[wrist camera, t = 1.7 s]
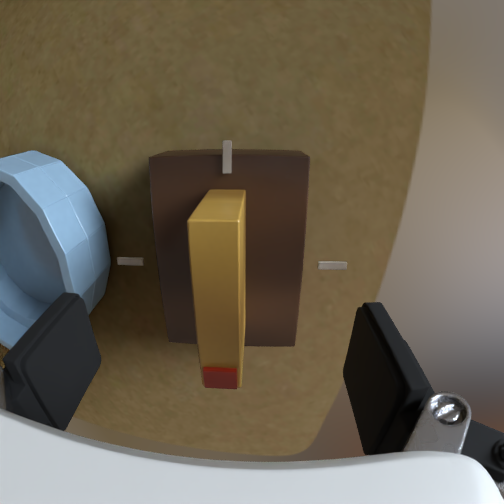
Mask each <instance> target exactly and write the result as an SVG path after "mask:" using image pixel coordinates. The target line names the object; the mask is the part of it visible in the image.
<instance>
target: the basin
mask: <svg viewBox="0 0 504 504" xmlns="http://www.w3.org/2000/svg"><path fill="white" fill-rule="evenodd" d="M110 265H111V259H110V253H109V247H108V241H107V234H106V227H105V223H104V221H103V219H102V217H101V215H100V212H99V210H98V208H97V206H96V204H95V202H94V200H93V198H92V196H91V194H90V192H89V189H88V188H87V187H86V185H85V184H84V183H83V182H82V181H81V180H80V179H79V178H78V177H77V176H76V175H75V174H74V173H73V172H72V171H71V170H70V169H69V168H68V167H67V166H66V165H65V164H64V163H63V162H62V161H61V160H58V159H56V158H53V157H50V156H48V155H45V154H42V153H40V152H37V151H33V150H32V151H27V152H23V153H18V154H14V155H9V156H5V157H2V158H0V343H1V344H2V345H4V346H5V347H7V348H8V349H11V348H12V347H13V346H14V345H15V344H16V342H17V341H18V340H19V339H20V338H21V337H22V336H23V335H24V333H25V332H26V331H27V330H28V329H29V328H30V327H31V326H32V325H33V324H34V322H35V321H36V320H37V319H38V318H39V317H40V316H41V315H42V314H43V313H44V312H45V311H46V310H47V309H48V308H49V307H50V305H51V304H52V303H53V302H54V301H55V300H56V299H57V298H58V297H59V296H60V295H61V294H62V293H64V292H68V293H77V294H79V295H80V297H81V298H83V299H84V302H85V305H86V309H87V313H88V315H89V314H90V313H91V311H92V310H93V309H94V307H95V306H96V305H97V303H98V302H99V301H100V300H101V298H102V297H103V296H104V294H105V290H106V285H107V280H108V275H109V270H110Z"/></svg>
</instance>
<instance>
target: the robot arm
mask: <svg viewBox="0 0 504 504" xmlns="http://www.w3.org/2000/svg"><path fill="white" fill-rule="evenodd" d="M2 360H3V362H4V364H5V366H6V367H5V368H4V369H3V368H2V367H1V366H0V504H504V433H502V432H500V431H497V430H495V429H493V428H490V427H488V426H485V425H483V424H481V423H478V422H476V421H473V420H471V409H470V406H469V405H468V403H467V401H466V400H464V399H463V398H462V397H461V396H459V395H457V394H455V393H452V392H438V393H434V391H433V389H432V387H431V385H430V383H429V381H428V380H427V378H426V376H425V374H424V372H423V370H422V369H421V367H420V365H419V363H418V361H417V360H416V358H415V356H414V354H413V353H412V351H411V349H410V347H409V346H408V344H407V342H406V341H405V340H403V338H402V336H401V335H400V333H399V331H398V330H397V328H396V326H395V325H394V323H393V321H392V319H391V318H390V316H389V315H388V313H387V311H386V310H385V308H384V307H383V305H382V303H380V302H373V303H364V304H363V305H362V307H358V309H357V311H356V316H355V321H354V326H353V330H352V335H351V339H350V343H349V348H348V352H347V356H346V360H345V364H344V368H343V377H344V381H345V384H346V388H347V391H348V395H349V398H350V402H351V406H352V409H353V413H354V417H355V420H356V424H357V428H358V432H359V435H360V440H361V443H362V447H363V451H364V453H365V455H368V456H361V457H351V458H341V459H329V460H313V461H292V462H247V461H246V462H245V461H244V462H243V461H225V460H211V459H201V458H191V457H182V456H174V455H167V454H161V453H155V452H149V451H143V450H138V449H132V448H128V447H123V446H118V445H113V444H109V443H105V442H101V441H97V440H93V439H89V438H86V437H82V436H79V435H75V434H71V433H68V432H65V431H64V430H65V429H66V428H67V426H68V424H69V422H70V420H71V418H72V416H73V414H74V413H75V411H76V409H77V407H78V405H79V403H80V401H81V399H82V397H83V396H84V394H85V392H86V390H87V388H88V386H89V384H90V383H91V381H92V379H93V377H94V375H95V374H96V372H97V370H98V368H99V366H100V364H101V355H100V352H99V349H98V346H97V343H96V340H95V337H94V333H93V330H92V327H91V323H90V320H89V316H88V313H87V309H86V305H85V302H84V299H83V298H81V297H80V295H79V294H77V293H68V292H64V293H62V294H61V295H60V296H59V297H58V298H57V299H56V300H55V301H54V302H53V303H52V304H51V305H50V307H49V308H48V309H47V310H46V311H45V312H44V313H43V314H42V315H41V316H40V317H39V318H38V319H37V320H36V321H35V322H34V324H33V325H32V326H31V327H30V328H29V329H28V330H27V331H26V332H25V333H24V335H23V336H22V337H21V338H20V339H19V340H18V341H17V342H16V344H15V345H14V346H13V347H12V348H11V349H10V351H9V352H8V353H7V354H6V355H5V356H4V358H3V359H2Z"/></svg>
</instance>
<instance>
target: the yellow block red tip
mask: <svg viewBox="0 0 504 504" xmlns="http://www.w3.org/2000/svg"><path fill="white" fill-rule="evenodd" d="M187 231H188V246H189V260H190V273H191V285H192V296H193V307H194V317H195V327H196V336H197V345H198V353H199V362H200V370H201V377H202V384H203V386H205V388H222V389H237V388H240V387H241V385H242V369H243V354H244V338H245V260H246V191H245V190H223V189H215V190H209V191H208V192H207V194H206V195H205V196H204V198H203V199H202V200H201V202H200V203H199V205H198V206H197V207H196V209H195V210H194V211H193V213H192V214H191V216H190V217H189V218H188V220H187Z"/></svg>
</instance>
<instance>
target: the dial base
mask: <svg viewBox="0 0 504 504" xmlns="http://www.w3.org/2000/svg"><path fill="white" fill-rule="evenodd" d="M309 168H310V157H309V156H308V155H306V154H304V153H303V152H301V151H290V150H254V149H231V141H223V149H217V150H181V151H167V152H163V153H160V154H157V155H154V156H151V157H149V171H150V188H151V202H152V214H153V226H154V236H155V246H156V255H157V263H158V272H159V279H160V287H161V294H162V301H163V308H164V314H165V321H166V327H167V333H168V338H169V342H176V343H190V344H197V336H196V327H195V317H194V307H193V296H192V285H191V273H190V260H189V246H188V231H187V220H188V218H189V217H190V216H191V214H192V213H193V211H194V210H195V209H196V207H197V206H198V205H199V203H200V202H201V200H202V199H203V198H204V196H205V195H206V194H207V192H208V191H209V190H215V189H223V190H245V191H246V260H245V338H244V346H295V340H296V331H297V322H298V313H299V303H300V293H301V282H302V271H303V259H304V247H305V234H306V220H307V205H308V188H309ZM117 262H118V265H144V261H143V258H134V257H118V258H117ZM346 268H347V262H336V261H318V269H336V270H346Z"/></svg>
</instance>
